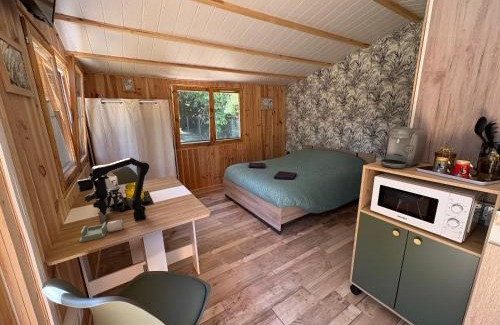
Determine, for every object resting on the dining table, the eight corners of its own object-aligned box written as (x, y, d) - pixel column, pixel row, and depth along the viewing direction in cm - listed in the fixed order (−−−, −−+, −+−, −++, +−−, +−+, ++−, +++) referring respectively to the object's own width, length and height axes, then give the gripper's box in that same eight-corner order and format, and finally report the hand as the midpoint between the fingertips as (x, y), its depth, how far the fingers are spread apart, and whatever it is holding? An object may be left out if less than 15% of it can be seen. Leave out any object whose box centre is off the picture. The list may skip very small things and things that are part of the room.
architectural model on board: (102, 216, 149) (99, 203, 146) (107, 215, 150) (104, 202, 148) (99, 223, 139) (96, 210, 136) (104, 222, 140) (102, 209, 138)
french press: (126, 205, 165) (121, 177, 159) (125, 210, 157) (120, 180, 151) (108, 208, 160) (102, 179, 154) (106, 213, 152) (100, 183, 146)
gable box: (117, 204, 168) (111, 170, 161) (97, 207, 162) (90, 172, 156) (119, 194, 187) (114, 164, 181) (102, 197, 181) (95, 166, 175)
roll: (123, 226, 134) (122, 218, 133) (122, 230, 128) (120, 221, 127) (110, 229, 131) (108, 220, 130) (108, 233, 126) (106, 224, 125)
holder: (108, 226, 134) (107, 219, 133) (104, 236, 123) (103, 229, 122) (85, 230, 130) (84, 224, 129) (79, 242, 118) (77, 235, 117)
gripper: (89, 184, 129) (94, 207, 133) (78, 195, 113) (85, 221, 116) (110, 181, 133) (115, 204, 137) (103, 191, 117) (108, 217, 120)
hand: (106, 211), depth 128 cm, fingers open, 9 cm apart
